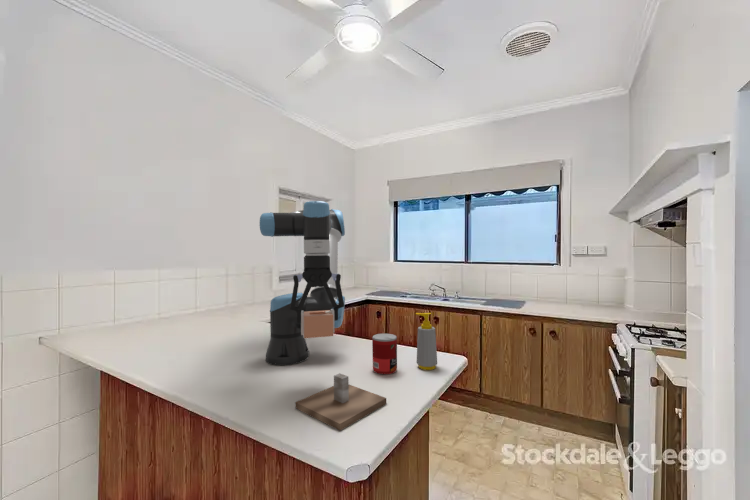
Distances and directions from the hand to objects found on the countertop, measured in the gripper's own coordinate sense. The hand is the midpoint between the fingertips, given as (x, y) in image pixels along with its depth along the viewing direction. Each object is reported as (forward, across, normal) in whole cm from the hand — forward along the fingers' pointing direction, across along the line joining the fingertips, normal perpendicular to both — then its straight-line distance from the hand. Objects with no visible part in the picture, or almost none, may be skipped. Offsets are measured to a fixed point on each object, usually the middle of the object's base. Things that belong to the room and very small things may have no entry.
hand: (317, 332), depth 95 cm
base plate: (+15, +4, -15) cm, 22 cm away
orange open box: (0, 0, 0) cm, 0 cm away
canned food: (+15, +22, +5) cm, 27 cm away
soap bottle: (+15, +36, +4) cm, 39 cm away
